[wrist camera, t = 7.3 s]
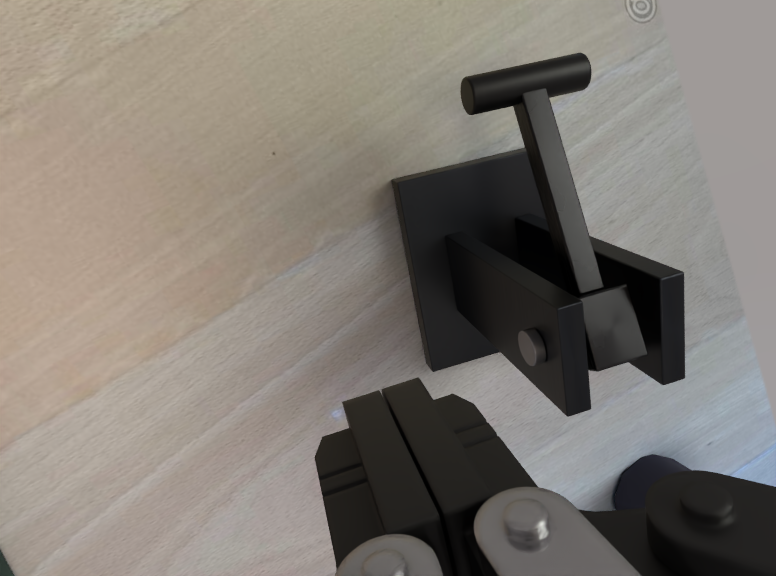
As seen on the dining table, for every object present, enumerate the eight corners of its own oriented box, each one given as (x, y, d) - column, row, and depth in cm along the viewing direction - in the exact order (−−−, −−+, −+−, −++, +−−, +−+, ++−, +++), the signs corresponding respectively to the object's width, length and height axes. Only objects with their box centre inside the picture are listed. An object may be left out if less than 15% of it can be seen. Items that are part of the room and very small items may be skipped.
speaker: (651, 548, 43) (772, 661, 33) (588, 534, 41) (694, 650, 31) (691, 456, 42) (827, 544, 32) (628, 439, 40) (750, 526, 30)
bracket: (391, 179, 30) (490, 230, 18) (548, 142, 31) (735, 166, 19) (426, 363, 34) (526, 505, 22) (564, 322, 35) (729, 435, 23)
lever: (453, 92, 23) (470, 64, 21) (563, 68, 24) (591, 39, 22) (535, 378, 23) (562, 383, 21) (644, 344, 24) (683, 345, 21)
